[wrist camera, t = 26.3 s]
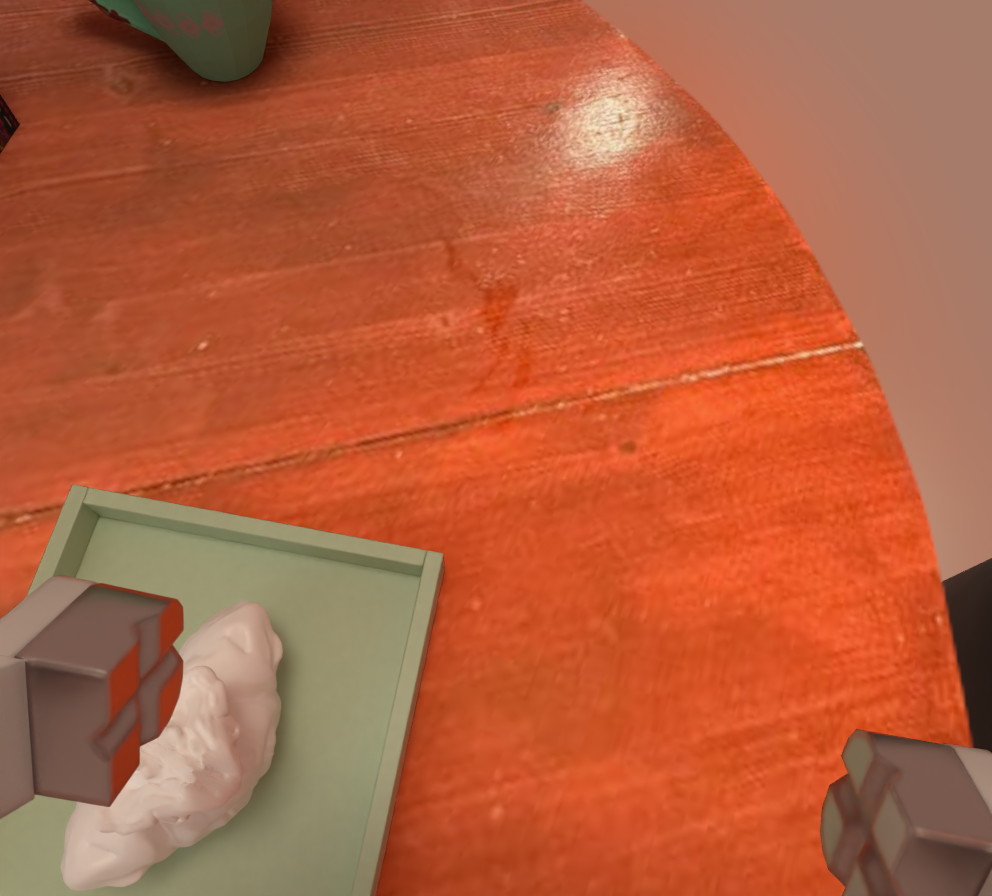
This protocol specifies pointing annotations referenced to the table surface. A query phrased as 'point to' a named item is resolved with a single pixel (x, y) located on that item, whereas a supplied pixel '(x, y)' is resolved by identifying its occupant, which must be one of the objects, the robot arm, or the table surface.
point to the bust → (188, 756)
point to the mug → (202, 31)
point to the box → (6, 123)
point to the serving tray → (300, 685)
